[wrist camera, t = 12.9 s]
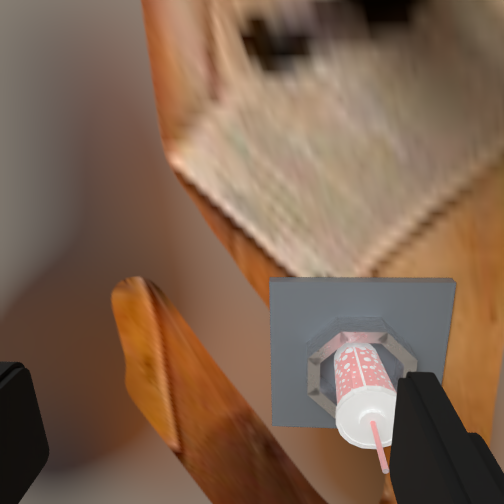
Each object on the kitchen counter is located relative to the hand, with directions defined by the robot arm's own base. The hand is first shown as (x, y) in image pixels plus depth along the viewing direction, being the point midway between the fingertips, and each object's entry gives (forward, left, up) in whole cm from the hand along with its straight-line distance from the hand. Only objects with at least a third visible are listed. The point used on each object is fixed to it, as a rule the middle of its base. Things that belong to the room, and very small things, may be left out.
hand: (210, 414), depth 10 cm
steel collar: (+18, +9, -29) cm, 35 cm away
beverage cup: (+18, +9, -29) cm, 35 cm away
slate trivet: (+18, +9, -30) cm, 36 cm away
